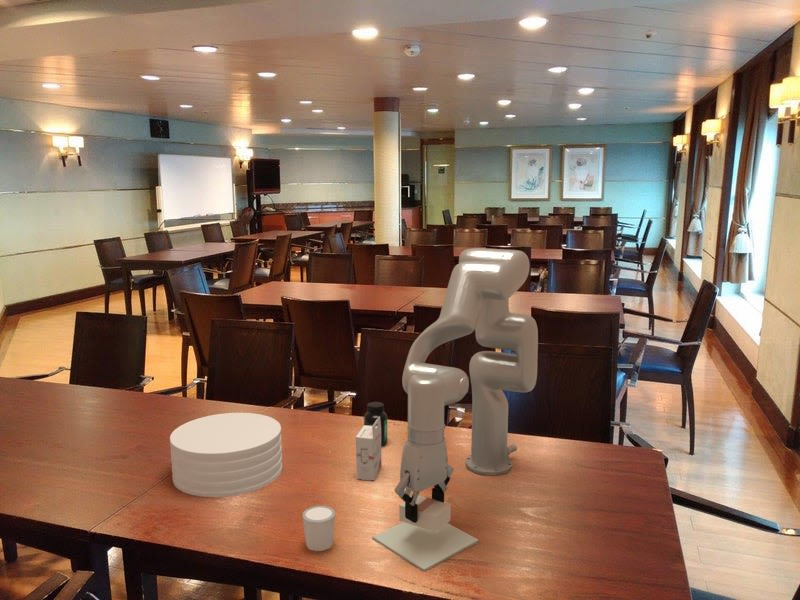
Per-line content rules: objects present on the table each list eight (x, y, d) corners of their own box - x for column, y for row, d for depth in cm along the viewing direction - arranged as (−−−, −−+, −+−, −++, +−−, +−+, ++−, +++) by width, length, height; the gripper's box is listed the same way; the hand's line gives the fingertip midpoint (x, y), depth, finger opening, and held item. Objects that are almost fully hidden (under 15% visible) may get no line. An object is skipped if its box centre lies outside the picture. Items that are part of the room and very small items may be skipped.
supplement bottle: (392, 444, 187) (391, 405, 185) (372, 450, 183) (371, 410, 181) (379, 437, 193) (379, 399, 190) (359, 442, 189) (359, 403, 187)
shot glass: (304, 535, 138) (303, 505, 137) (336, 534, 139) (335, 504, 138) (302, 553, 132) (301, 522, 131) (335, 552, 132) (335, 520, 131)
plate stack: (303, 471, 170) (302, 430, 168) (209, 509, 150) (206, 463, 148) (244, 442, 189) (242, 405, 187) (153, 473, 169) (150, 432, 167)
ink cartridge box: (364, 465, 173) (363, 413, 170) (381, 467, 172) (381, 415, 169) (355, 479, 165) (354, 425, 162) (374, 481, 164) (373, 427, 161)
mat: (425, 513, 148) (425, 511, 148) (478, 541, 136) (478, 539, 136) (372, 538, 137) (372, 536, 137) (424, 571, 126) (424, 569, 125)
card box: (450, 519, 136) (450, 503, 135) (436, 532, 131) (436, 515, 130) (413, 509, 140) (413, 493, 140) (399, 520, 135) (399, 504, 135)
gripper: (442, 419, 141) (440, 494, 144) (381, 439, 129) (381, 520, 132) (467, 428, 135) (465, 507, 138) (407, 450, 124) (406, 535, 127)
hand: (424, 513), depth 135 cm, fingers closed on card box, 7 cm apart
